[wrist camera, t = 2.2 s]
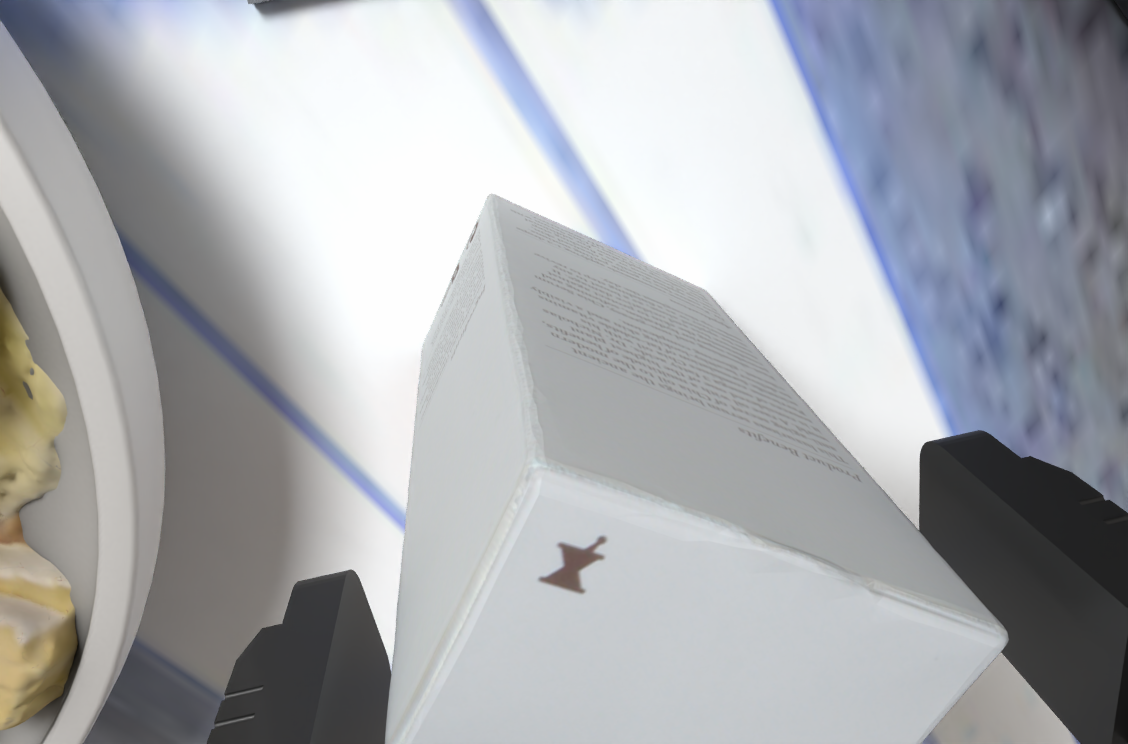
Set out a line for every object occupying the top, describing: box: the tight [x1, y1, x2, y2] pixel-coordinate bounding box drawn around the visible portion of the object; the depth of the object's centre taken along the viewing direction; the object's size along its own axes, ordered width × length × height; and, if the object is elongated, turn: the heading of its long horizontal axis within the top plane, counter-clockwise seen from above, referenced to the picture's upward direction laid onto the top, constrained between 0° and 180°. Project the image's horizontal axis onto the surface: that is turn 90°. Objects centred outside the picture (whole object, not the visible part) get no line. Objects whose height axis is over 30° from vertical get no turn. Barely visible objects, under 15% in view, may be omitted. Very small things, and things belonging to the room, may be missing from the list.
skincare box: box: [385, 194, 1009, 744], centre depth 14 cm, size 6×4×12 cm
